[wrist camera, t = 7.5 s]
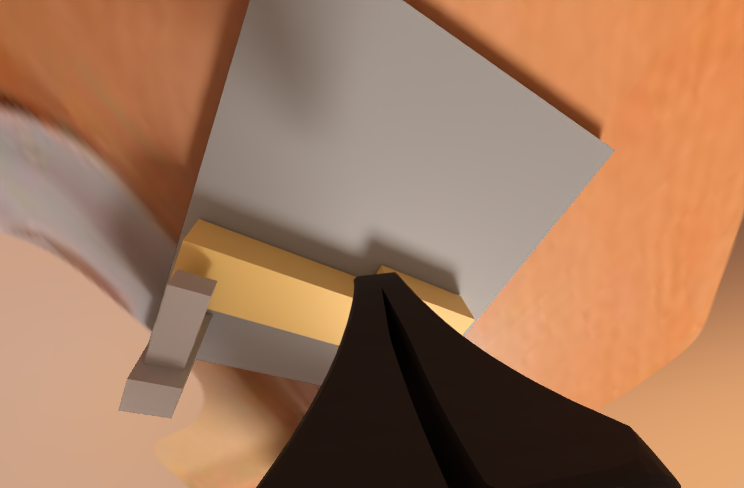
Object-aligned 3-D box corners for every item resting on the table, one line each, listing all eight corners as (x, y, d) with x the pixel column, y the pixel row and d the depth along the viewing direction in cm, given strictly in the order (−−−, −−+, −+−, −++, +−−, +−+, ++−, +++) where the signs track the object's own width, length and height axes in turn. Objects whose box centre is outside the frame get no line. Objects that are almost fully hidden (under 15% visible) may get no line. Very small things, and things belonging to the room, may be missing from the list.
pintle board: (406, 391, 24) (427, 472, 20) (154, 335, 19) (99, 430, 14) (599, 145, 17) (710, 179, 12) (279, -78, 11) (251, -183, 6)
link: (460, 296, 19) (475, 319, 17) (412, 358, 21) (420, 384, 19) (206, 195, 14) (191, 214, 12) (174, 289, 16) (157, 316, 14)
